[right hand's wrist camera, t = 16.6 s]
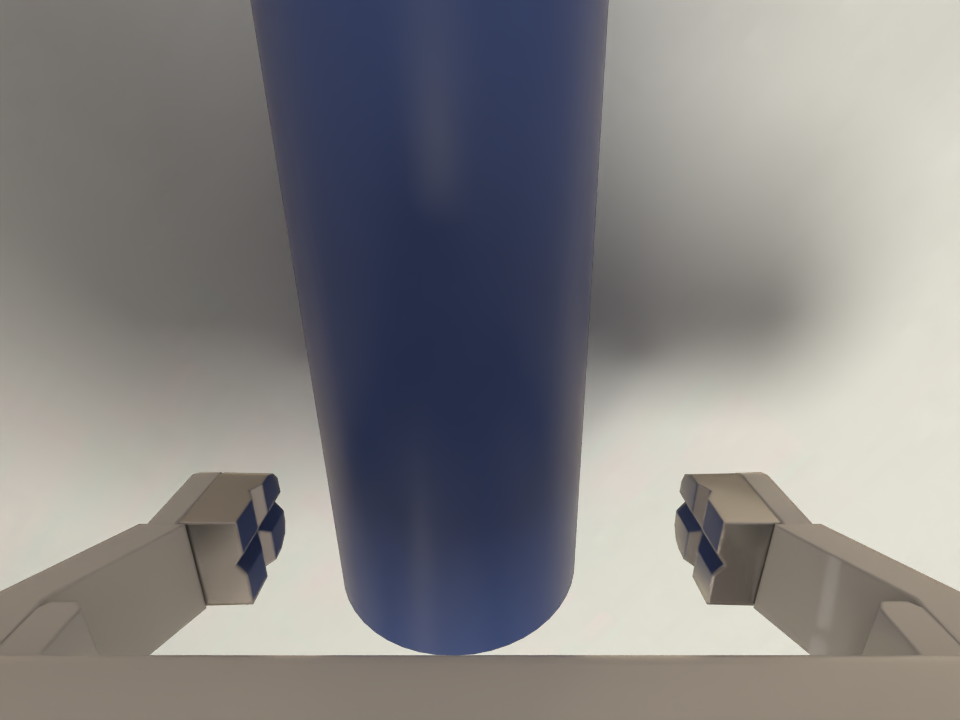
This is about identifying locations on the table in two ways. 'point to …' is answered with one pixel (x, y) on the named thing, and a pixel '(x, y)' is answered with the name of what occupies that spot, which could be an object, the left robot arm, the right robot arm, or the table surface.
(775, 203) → the table surface
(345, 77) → the rod
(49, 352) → the table surface
